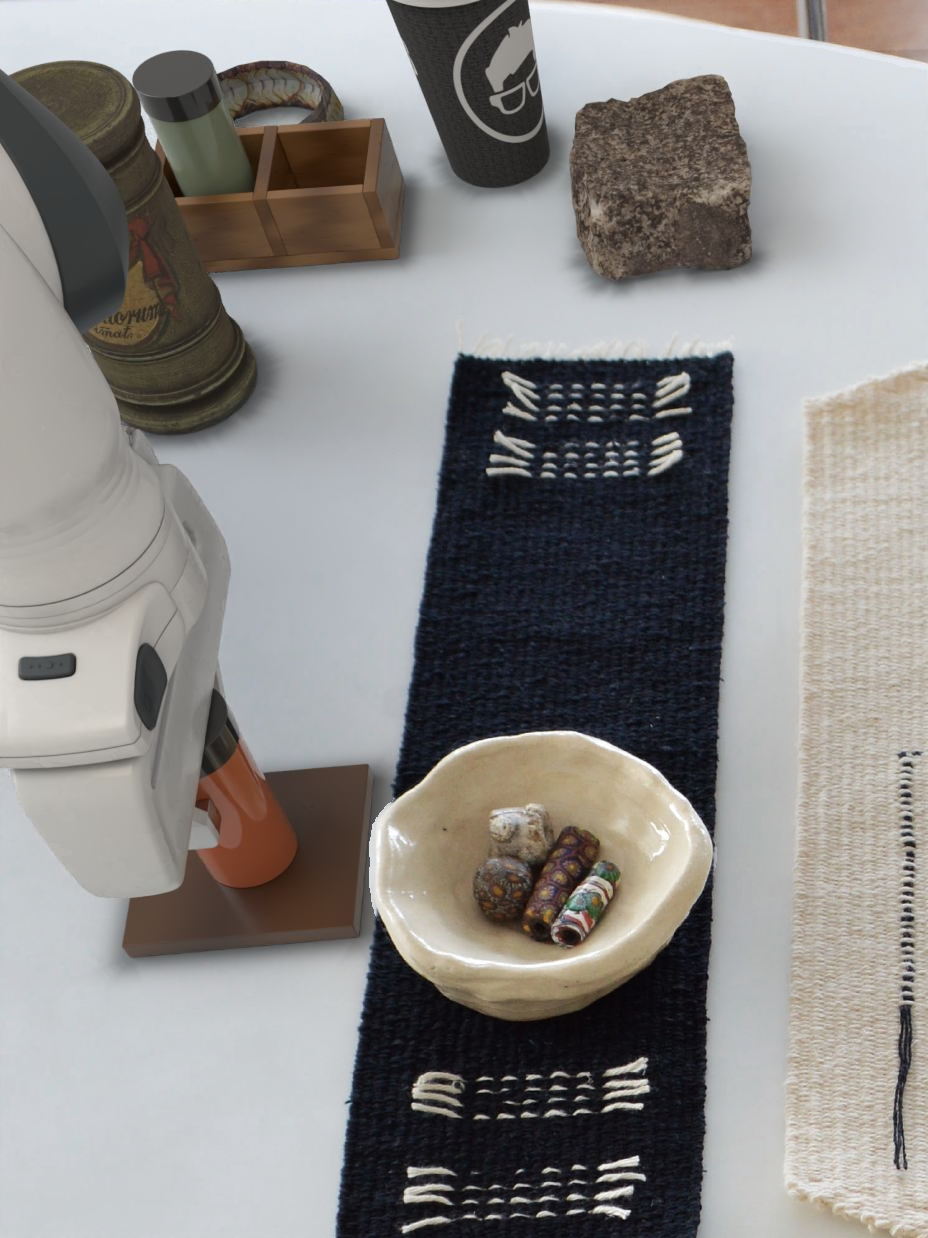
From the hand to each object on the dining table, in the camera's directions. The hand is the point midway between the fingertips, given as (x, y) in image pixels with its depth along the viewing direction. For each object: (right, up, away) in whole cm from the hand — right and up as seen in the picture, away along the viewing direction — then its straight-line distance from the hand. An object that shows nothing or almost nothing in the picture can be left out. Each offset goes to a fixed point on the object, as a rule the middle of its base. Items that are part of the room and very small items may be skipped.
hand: (211, 786), depth 87 cm
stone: (+16, +40, +32) cm, 54 cm away
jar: (-11, +39, +30) cm, 51 cm away
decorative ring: (-11, +46, +36) cm, 60 cm away
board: (0, -3, +5) cm, 6 cm away
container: (-12, +27, +24) cm, 37 cm away
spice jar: (0, -3, +5) cm, 5 cm away
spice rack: (-8, +39, +31) cm, 50 cm away
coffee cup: (+4, +45, +35) cm, 57 cm away
